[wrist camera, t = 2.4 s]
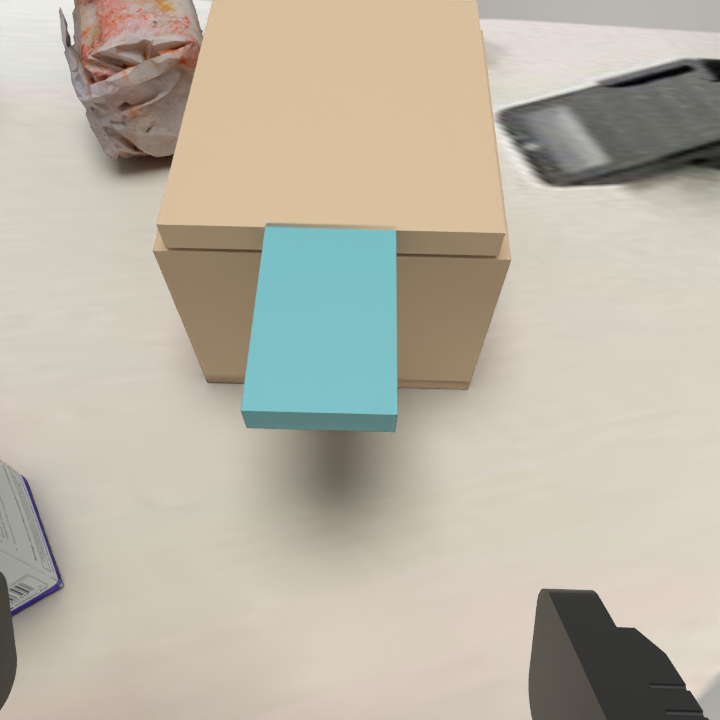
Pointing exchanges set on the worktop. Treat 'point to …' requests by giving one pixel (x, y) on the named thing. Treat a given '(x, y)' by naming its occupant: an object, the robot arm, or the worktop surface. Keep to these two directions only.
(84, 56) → the food item
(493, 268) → the carton
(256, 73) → the flap
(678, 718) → the robot arm
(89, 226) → the worktop surface
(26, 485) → the supplement box
